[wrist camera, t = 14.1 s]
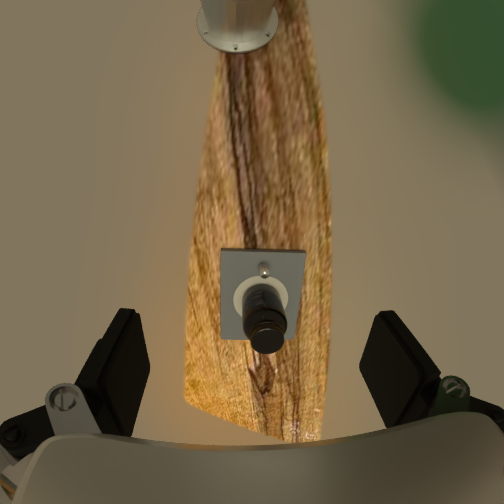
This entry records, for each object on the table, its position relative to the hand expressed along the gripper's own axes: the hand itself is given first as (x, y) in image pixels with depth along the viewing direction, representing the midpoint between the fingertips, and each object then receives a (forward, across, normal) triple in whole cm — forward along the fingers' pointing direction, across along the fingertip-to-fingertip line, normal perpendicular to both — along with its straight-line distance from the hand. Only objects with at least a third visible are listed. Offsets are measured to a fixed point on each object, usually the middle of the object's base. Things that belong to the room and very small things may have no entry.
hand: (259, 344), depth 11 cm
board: (+36, -4, +19) cm, 41 cm away
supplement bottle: (+35, -4, +19) cm, 40 cm away
